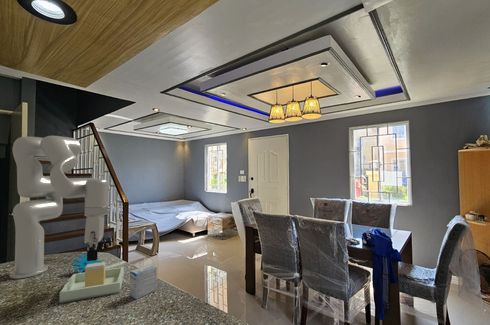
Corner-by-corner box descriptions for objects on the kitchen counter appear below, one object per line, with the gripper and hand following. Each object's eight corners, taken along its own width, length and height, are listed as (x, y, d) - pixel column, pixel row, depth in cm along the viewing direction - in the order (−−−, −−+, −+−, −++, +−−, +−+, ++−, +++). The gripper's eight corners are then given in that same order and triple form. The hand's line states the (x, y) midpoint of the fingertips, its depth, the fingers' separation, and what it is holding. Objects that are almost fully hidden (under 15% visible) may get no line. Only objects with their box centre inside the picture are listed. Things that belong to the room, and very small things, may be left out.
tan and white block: (87, 285, 91) (87, 264, 92) (105, 282, 93) (105, 261, 94) (84, 289, 88) (85, 267, 88) (103, 286, 90) (103, 265, 90)
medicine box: (149, 287, 91) (149, 264, 91) (156, 290, 88) (157, 266, 88) (129, 296, 84) (129, 271, 84) (136, 299, 82) (136, 274, 82)
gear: (72, 274, 99) (74, 252, 105) (69, 281, 102) (71, 259, 108) (102, 271, 106) (102, 250, 112) (99, 277, 109) (99, 257, 115)
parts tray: (73, 283, 95) (73, 274, 95) (124, 275, 102) (124, 266, 102) (59, 303, 80) (59, 292, 80) (119, 292, 87) (119, 282, 87)
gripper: (89, 208, 99) (88, 250, 98) (78, 215, 83) (77, 265, 82) (110, 207, 101) (109, 248, 101) (103, 214, 85) (102, 262, 85)
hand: (94, 256), depth 91 cm, fingers open, 9 cm apart
